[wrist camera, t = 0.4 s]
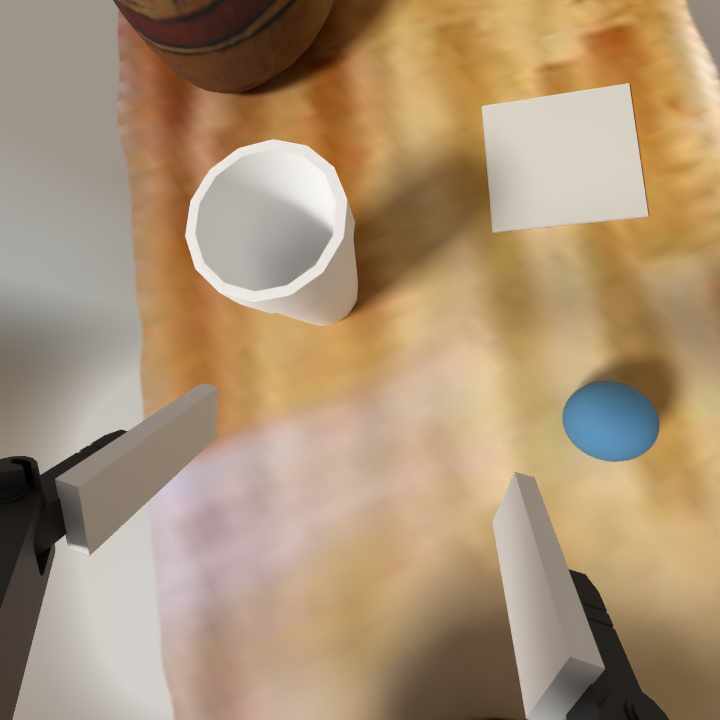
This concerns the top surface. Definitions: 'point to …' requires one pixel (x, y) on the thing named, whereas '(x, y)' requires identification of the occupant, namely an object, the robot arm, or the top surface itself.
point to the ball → (611, 421)
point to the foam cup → (276, 233)
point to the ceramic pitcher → (227, 37)
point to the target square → (563, 160)
